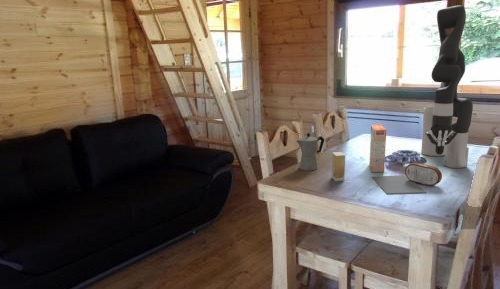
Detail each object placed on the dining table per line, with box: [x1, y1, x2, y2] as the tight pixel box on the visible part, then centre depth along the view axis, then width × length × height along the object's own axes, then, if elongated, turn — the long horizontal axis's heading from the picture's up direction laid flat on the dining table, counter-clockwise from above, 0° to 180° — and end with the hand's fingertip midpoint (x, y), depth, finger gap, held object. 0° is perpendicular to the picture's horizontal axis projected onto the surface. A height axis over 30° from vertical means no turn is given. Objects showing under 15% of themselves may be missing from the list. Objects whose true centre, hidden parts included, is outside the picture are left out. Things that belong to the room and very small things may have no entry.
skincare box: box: [331, 151, 346, 182], centre depth 181 cm, size 6×4×12 cm
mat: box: [371, 174, 428, 195], centre depth 172 cm, size 16×22×1 cm
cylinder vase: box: [421, 106, 446, 157], centre depth 214 cm, size 12×12×25 cm
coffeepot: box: [296, 132, 325, 171], centre depth 199 cm, size 15×9×18 cm, turn 110°
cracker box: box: [369, 124, 387, 173], centre depth 193 cm, size 14×6×21 cm, turn 168°
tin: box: [404, 161, 443, 187], centre depth 171 cm, size 15×3×8 cm, turn 45°
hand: (439, 154), depth 169 cm, fingers closed
